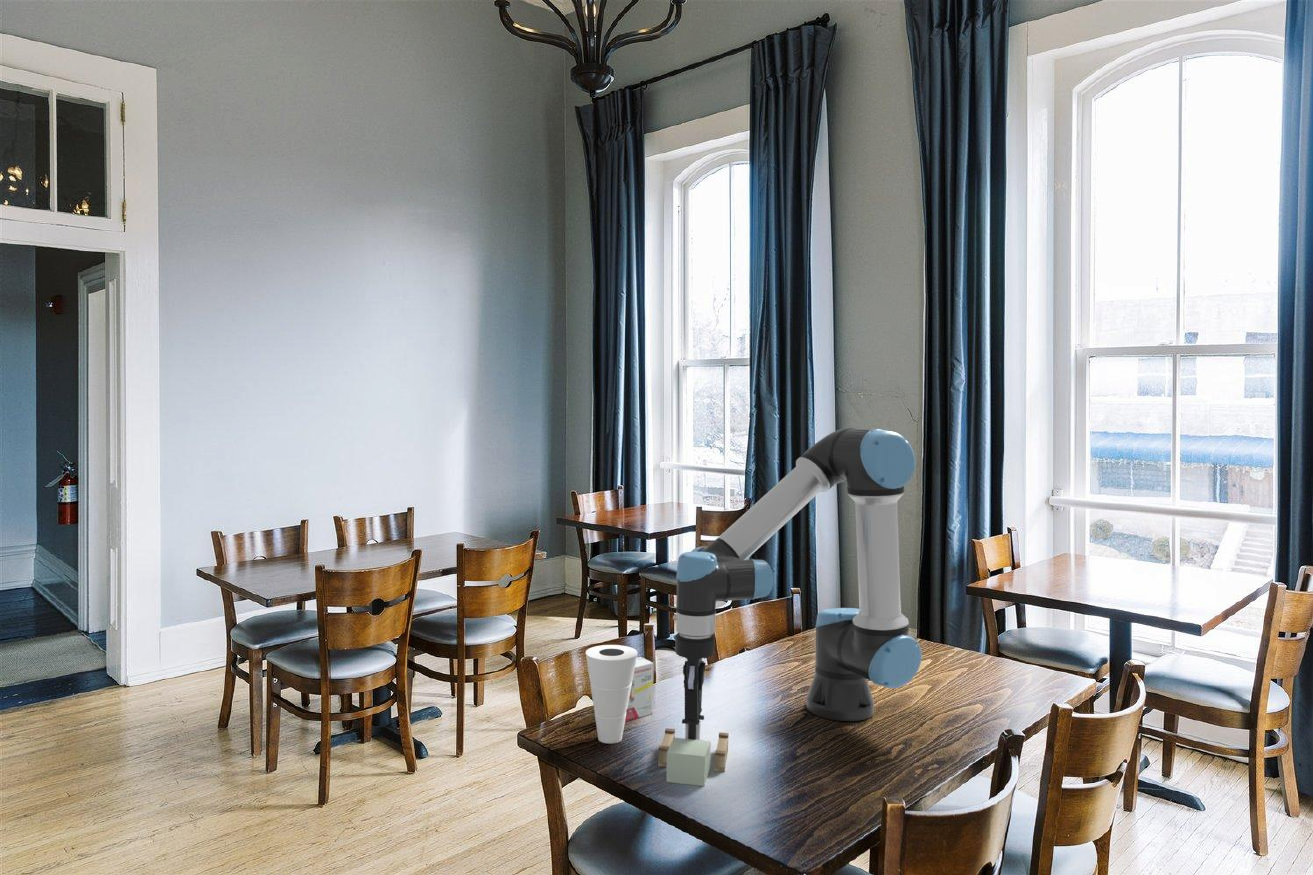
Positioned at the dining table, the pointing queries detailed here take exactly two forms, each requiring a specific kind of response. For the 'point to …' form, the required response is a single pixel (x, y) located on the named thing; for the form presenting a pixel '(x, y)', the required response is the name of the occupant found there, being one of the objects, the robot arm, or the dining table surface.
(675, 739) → the block
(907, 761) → the dining table surface
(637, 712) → the ink box
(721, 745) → the light wood low frame
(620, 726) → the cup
